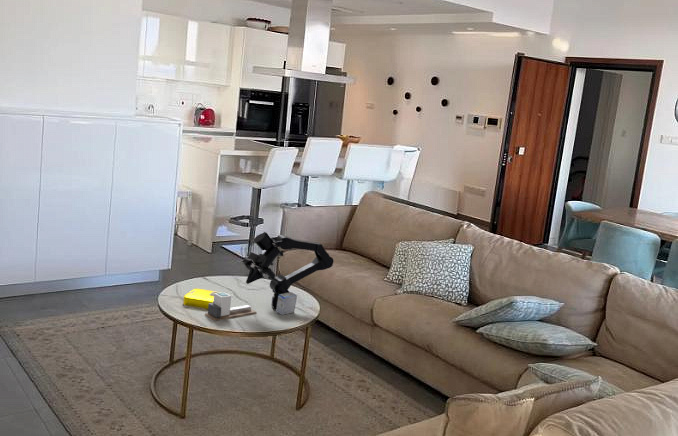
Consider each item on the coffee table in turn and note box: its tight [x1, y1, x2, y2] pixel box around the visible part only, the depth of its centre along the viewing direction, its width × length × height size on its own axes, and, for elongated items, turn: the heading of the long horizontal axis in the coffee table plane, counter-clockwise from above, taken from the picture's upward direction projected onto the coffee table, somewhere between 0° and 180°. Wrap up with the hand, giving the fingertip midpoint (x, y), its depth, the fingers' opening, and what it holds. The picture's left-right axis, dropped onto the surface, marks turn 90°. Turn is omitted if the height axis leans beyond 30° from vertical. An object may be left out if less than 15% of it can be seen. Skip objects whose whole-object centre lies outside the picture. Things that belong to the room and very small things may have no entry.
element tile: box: [182, 287, 220, 310], centre depth 316 cm, size 15×15×5 cm
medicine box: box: [275, 291, 298, 316], centre depth 316 cm, size 8×4×9 cm, turn 138°
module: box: [213, 291, 232, 316], centre depth 301 cm, size 5×6×9 cm
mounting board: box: [204, 308, 257, 322], centre depth 305 cm, size 22×8×1 cm, turn 134°
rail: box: [207, 303, 252, 318], centre depth 305 cm, size 20×7×5 cm, turn 134°
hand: (246, 283), depth 308 cm, fingers closed
